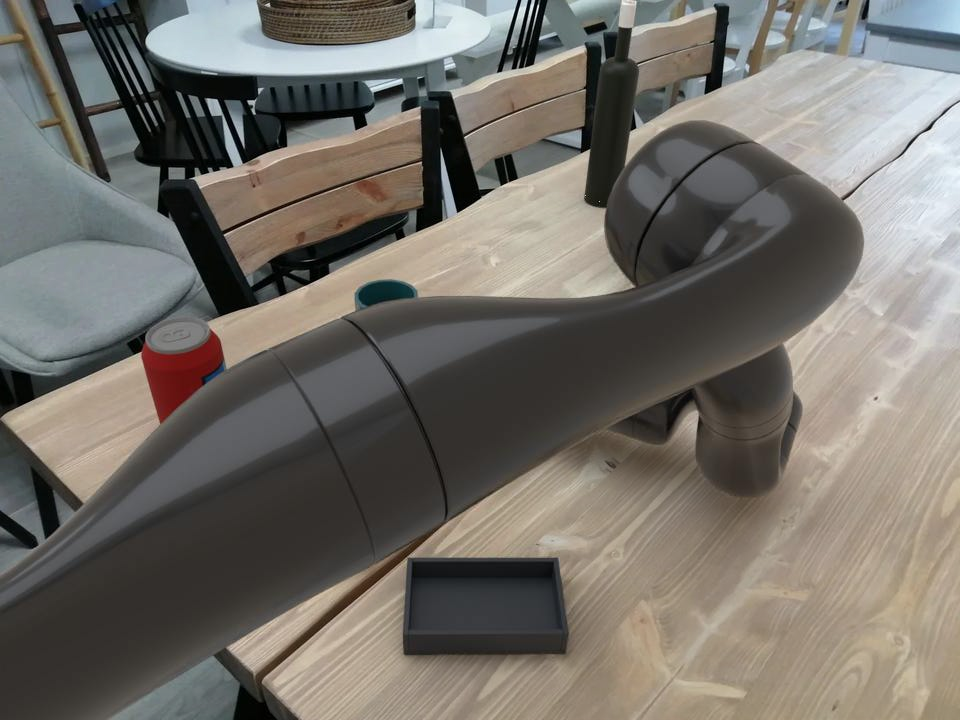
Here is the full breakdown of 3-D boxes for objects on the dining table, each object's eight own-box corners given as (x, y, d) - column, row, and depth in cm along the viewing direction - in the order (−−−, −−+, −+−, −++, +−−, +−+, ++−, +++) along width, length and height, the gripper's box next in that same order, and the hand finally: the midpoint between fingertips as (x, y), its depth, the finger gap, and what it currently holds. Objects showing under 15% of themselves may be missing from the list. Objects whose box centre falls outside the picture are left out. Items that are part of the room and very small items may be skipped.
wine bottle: (587, 191, 124) (612, -5, 107) (621, 196, 123) (652, -2, 105) (580, 204, 120) (605, 1, 102) (616, 210, 118) (647, 5, 101)
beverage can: (247, 445, 71) (226, 342, 64) (174, 469, 68) (144, 363, 61) (228, 406, 75) (207, 305, 68) (159, 426, 73) (130, 323, 66)
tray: (403, 655, 53) (402, 634, 52) (408, 577, 59) (407, 557, 58) (565, 654, 54) (569, 633, 53) (555, 577, 59) (558, 557, 58)
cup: (391, 399, 77) (387, 318, 71) (348, 375, 80) (341, 296, 75) (431, 371, 82) (430, 293, 76) (388, 350, 85) (384, 273, 79)
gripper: (602, 309, 73) (457, 269, 78) (545, 387, 62) (383, 333, 68) (593, 371, 77) (456, 328, 83) (538, 453, 67) (386, 397, 72)
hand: (423, 330), depth 75 cm, fingers open, 8 cm apart
